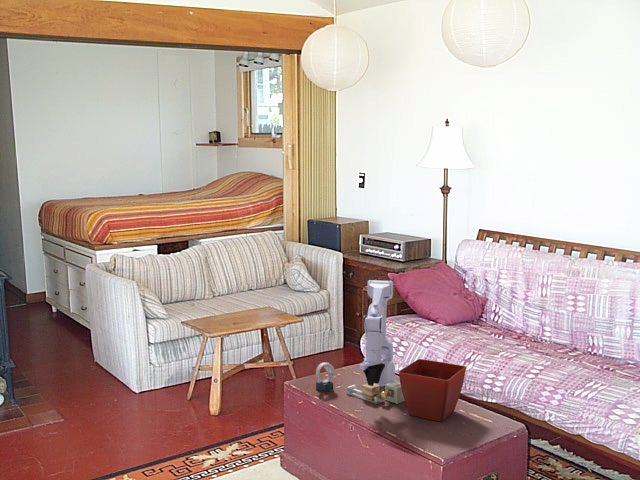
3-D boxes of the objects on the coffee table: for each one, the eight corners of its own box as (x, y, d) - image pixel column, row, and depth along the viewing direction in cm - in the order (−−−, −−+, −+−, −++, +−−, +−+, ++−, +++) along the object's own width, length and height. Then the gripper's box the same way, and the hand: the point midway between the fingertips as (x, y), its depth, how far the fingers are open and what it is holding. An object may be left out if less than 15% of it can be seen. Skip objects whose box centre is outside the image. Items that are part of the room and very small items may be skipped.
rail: (354, 391, 291) (354, 384, 290) (383, 401, 279) (383, 394, 279) (347, 393, 288) (347, 386, 287) (376, 404, 277) (376, 397, 276)
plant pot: (418, 400, 281) (418, 357, 278) (466, 409, 271) (467, 365, 269) (396, 416, 265) (397, 371, 262) (447, 427, 255) (448, 380, 252)
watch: (337, 389, 293) (337, 362, 292) (321, 393, 288) (321, 366, 286) (327, 385, 297) (327, 359, 296) (312, 390, 292) (312, 363, 291)
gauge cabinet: (395, 395, 286) (395, 380, 285) (407, 399, 281) (407, 383, 280) (385, 399, 282) (385, 383, 281) (396, 403, 277) (397, 387, 276)
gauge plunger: (391, 394, 281) (391, 387, 281) (397, 396, 279) (397, 389, 279) (379, 399, 277) (379, 391, 276) (385, 401, 275) (385, 393, 274)
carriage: (369, 393, 285) (369, 382, 284) (379, 396, 281) (379, 385, 280) (361, 396, 282) (361, 385, 281) (371, 399, 278) (371, 388, 277)
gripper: (376, 342, 277) (376, 376, 279) (352, 350, 266) (352, 386, 268) (391, 345, 273) (391, 380, 275) (368, 354, 262) (368, 391, 264)
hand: (373, 384), depth 271 cm, fingers open, 3 cm apart
